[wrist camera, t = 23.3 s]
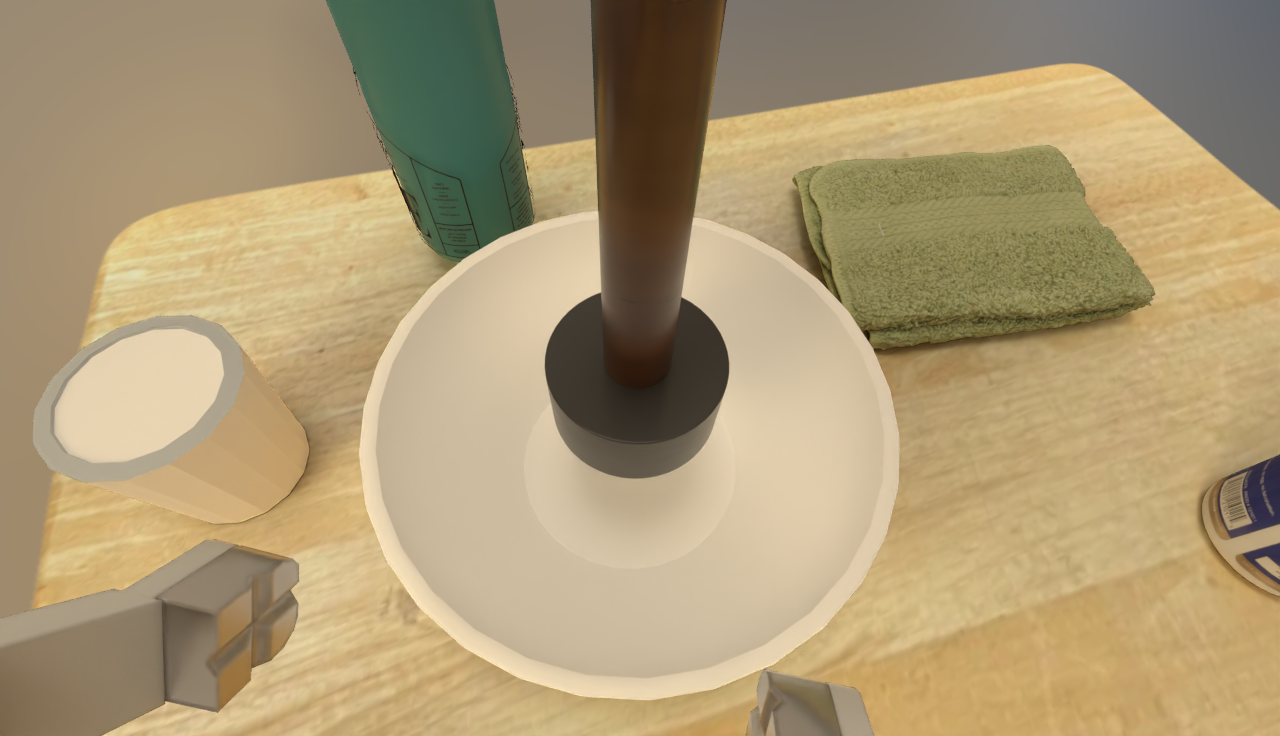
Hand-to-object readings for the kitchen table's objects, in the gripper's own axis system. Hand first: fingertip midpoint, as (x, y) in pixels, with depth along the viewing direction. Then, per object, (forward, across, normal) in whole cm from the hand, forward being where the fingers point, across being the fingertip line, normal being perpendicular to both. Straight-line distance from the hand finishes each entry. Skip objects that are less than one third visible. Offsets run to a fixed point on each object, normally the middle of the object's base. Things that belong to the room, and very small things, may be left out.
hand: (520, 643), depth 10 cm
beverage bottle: (+26, +11, -4) cm, 28 cm away
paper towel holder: (+12, 0, -1) cm, 12 cm away
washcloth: (+29, -16, -8) cm, 34 cm away
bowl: (+17, 0, +4) cm, 18 cm away
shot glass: (+15, +17, +7) cm, 24 cm away
